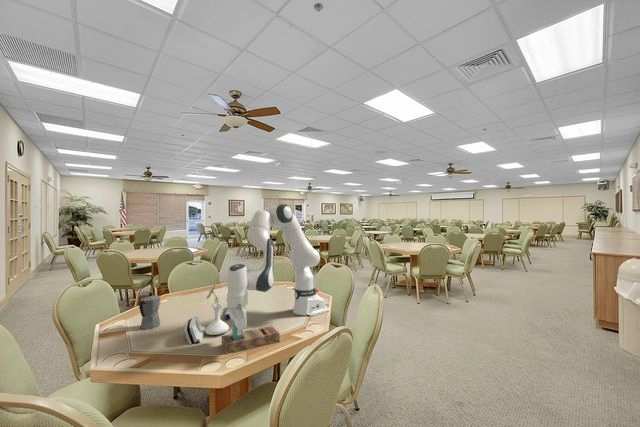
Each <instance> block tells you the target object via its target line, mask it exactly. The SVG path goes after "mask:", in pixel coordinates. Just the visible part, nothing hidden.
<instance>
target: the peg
mask: <svg viewBox="0 0 640 427" xmlns="http://www.w3.org/2000/svg"><path fill="white" fill-rule="evenodd" d="M231 320H232V321H231V324H232V327H231V328H232V333H231V334H232V340H233V341H234V340H239V339H242V332H243V329H242V330H241V335H237V334H236V330H237V327H236V325H235V324H234V320H233V319H231Z"/></svg>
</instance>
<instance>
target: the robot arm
mask: <svg viewBox="0 0 640 427" xmlns="http://www.w3.org/2000/svg"><path fill="white" fill-rule="evenodd" d="M277 226H280V229H281V231H282V233H283V235H284V238H285V241H286V242H287V244H288V246H289V247H291V248H292V249H291V250H290V251H289V255H288V258H289V260H290V261H291V263H292V267H293V272H294V285H295V286H294V287H295V288H294V294H293V295H294V305H293V309H292V313H293V314H294V315H297V316H307V315H309V316H308V317H312V316H315V315H320V314H323V313H327V312H329V311H330V308H329V307H328V306H327V305H326V300H324V298H323V297H321V296H320V295H319V294H318V293H319V292H320V289H319V288H315V287H314V274H313V272H312V271H311V268H312V267H313V268H314V267H317V266H318V265H319V263H320V261H321V256H320V255H321V254H320V253H319V252H318V251H317V250H316V249H315V248H314V247H313V245H312V244H311V243H310V242H309V239H307V237H306V235H305V233H304V231H303V229H302V226H301V225H300V223H299V220H298V218H297V216H296V215H295V214H294V212H293V209H292V208H291V207H290V206H289V205H288V204H286V203H282V204H278V205H273V206H270V207H268V208H265V209H261V210H257V211H256V212H255V213H253V216H252V218H251V220H250V224H249V226H248V230H247V233H246V234H247V240H248V242H249V243H250V244H251V245H252V246H253V247H256V248H257V249H259V250H262V252H263V262H262V263H263V264H262V268H261V269H252V268H247V266H246V265H245V264H242V263H238V264H233V265H231V266H230V267H229V268H228V271H227V276H226V287H227V294H226V306H227V309H229V316H230V317H231V319H230V320H232V319H233V320H234V324H235V325H236V327H237V330H236V334H237V335H241V330H242V331H243V330H245V329H247V326H248V324H247V322H248V321H247V319H248V318H247V311H246V309H245V308H246V306H248V305H249V304H248V303H249V302H248V290H249V291H257V292H263V293H266V292H268V291H269V290H271V289H272V288H273V286H274V281H275V276H274V262H275V261H274V259H275V256H274V255H275V254H274V253H275V247H274V242H273V240H272V239H271V237H270V233H271V228H272V227H277Z"/></svg>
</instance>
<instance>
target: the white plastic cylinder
mask: <svg viewBox="0 0 640 427" xmlns="http://www.w3.org/2000/svg"><path fill="white" fill-rule="evenodd" d="M223 320H224V321H230V320H232V319H231V317H230V316H229V309H228V308H227V310H226V311H225V312H224V314H223Z"/></svg>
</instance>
